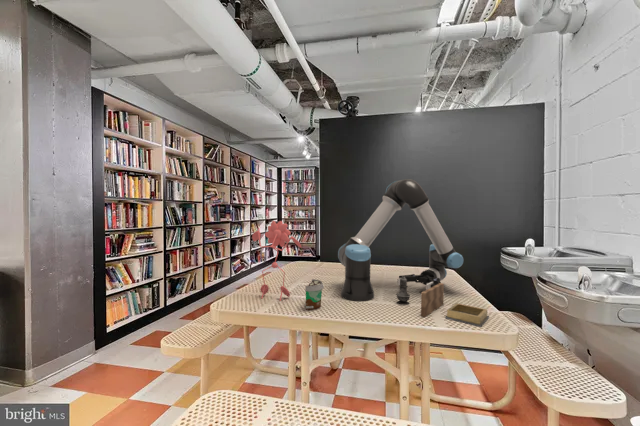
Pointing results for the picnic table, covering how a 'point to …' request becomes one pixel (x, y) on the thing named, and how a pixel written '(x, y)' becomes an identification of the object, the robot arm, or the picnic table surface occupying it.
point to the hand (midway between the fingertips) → (412, 284)
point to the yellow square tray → (467, 314)
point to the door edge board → (432, 299)
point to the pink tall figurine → (276, 237)
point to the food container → (314, 294)
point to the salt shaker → (403, 292)
